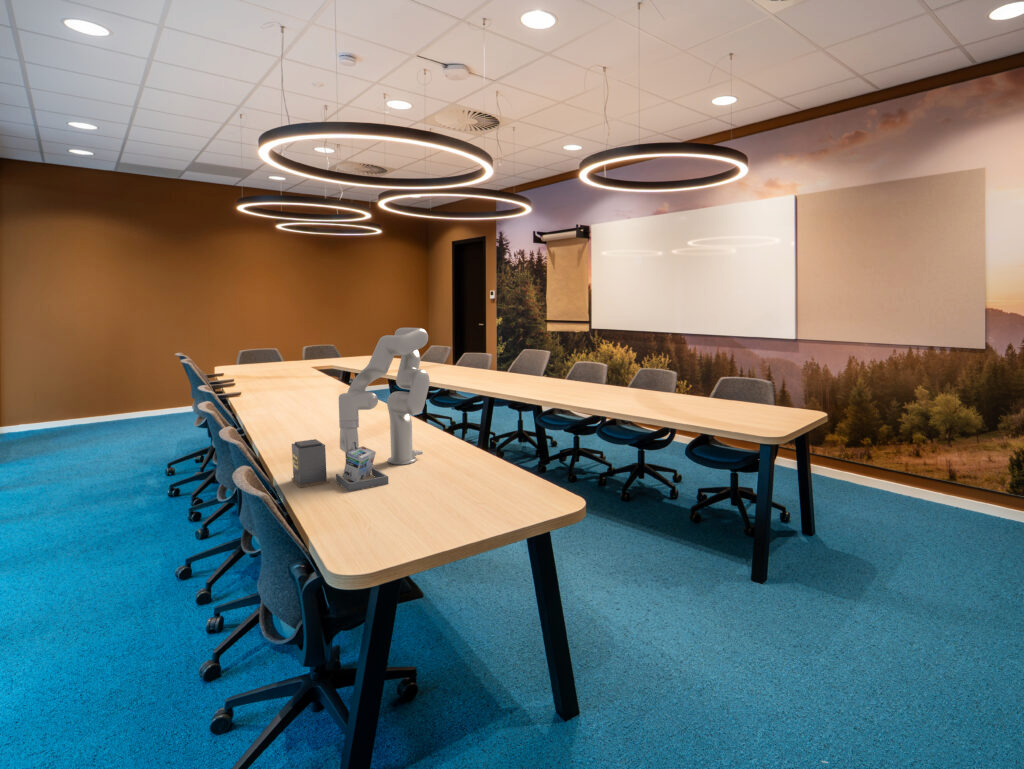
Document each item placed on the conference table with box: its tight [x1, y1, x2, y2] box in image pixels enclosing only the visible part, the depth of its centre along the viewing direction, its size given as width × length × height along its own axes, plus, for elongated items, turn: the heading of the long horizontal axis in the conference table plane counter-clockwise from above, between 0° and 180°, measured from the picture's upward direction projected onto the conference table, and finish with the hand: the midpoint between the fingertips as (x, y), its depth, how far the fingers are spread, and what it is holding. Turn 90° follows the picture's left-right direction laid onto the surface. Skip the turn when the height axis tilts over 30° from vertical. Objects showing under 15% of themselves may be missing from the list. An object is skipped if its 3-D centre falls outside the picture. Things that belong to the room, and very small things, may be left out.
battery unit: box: [290, 438, 330, 489], centre depth 212 cm, size 11×12×16 cm
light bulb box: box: [342, 446, 376, 482], centre depth 215 cm, size 11×7×11 cm, turn 163°
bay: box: [335, 467, 389, 492], centre depth 211 cm, size 16×15×3 cm
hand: (350, 467), depth 219 cm, fingers closed
